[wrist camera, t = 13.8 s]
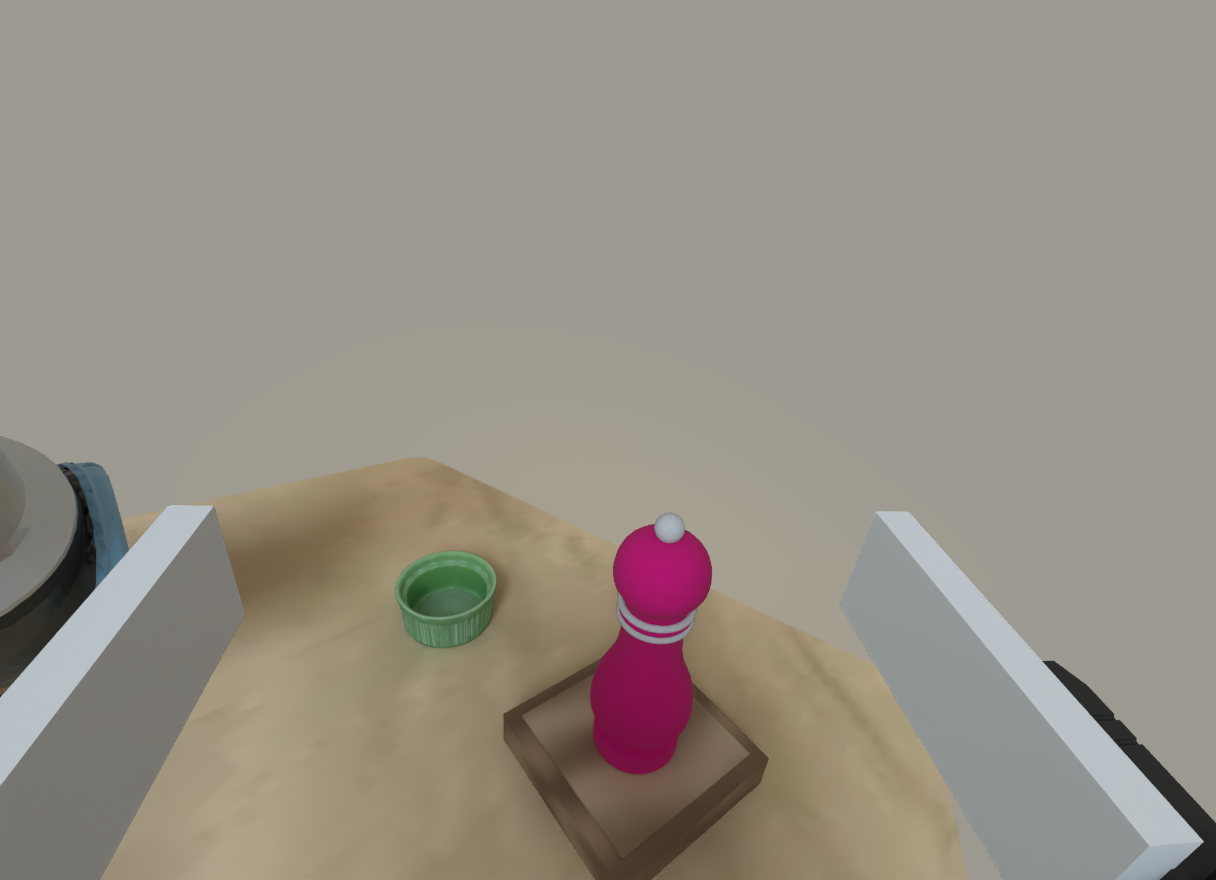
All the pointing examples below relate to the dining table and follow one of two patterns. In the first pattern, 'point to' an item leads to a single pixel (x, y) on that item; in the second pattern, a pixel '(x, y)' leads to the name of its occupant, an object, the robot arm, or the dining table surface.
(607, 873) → the plinth
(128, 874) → the dining table surface
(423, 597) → the ramekin
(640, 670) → the pepper mill
